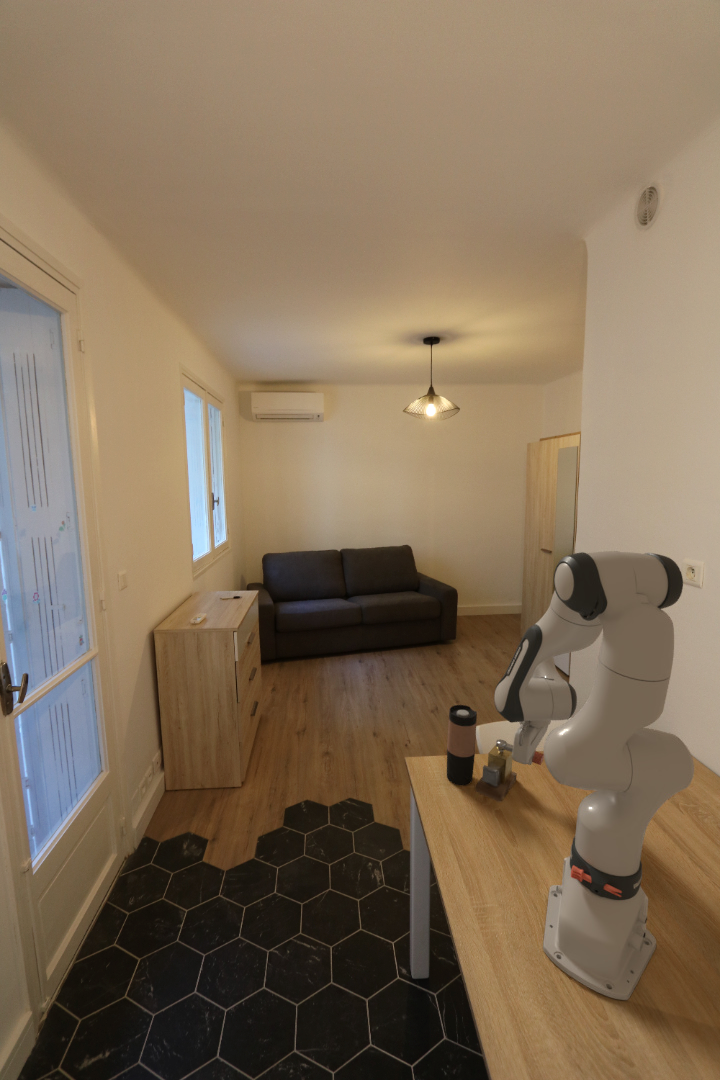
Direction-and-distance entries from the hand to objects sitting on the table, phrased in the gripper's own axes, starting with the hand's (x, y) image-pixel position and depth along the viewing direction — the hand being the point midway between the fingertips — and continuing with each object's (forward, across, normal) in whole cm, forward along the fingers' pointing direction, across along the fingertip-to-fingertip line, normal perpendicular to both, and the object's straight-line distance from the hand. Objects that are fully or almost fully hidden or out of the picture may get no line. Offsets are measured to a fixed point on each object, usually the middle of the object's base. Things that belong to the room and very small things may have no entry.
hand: (529, 762), depth 125 cm
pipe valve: (+9, +1, +8) cm, 12 cm away
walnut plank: (+11, +1, +8) cm, 14 cm away
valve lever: (0, +3, +3) cm, 4 cm away
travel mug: (+11, -2, +18) cm, 21 cm away
